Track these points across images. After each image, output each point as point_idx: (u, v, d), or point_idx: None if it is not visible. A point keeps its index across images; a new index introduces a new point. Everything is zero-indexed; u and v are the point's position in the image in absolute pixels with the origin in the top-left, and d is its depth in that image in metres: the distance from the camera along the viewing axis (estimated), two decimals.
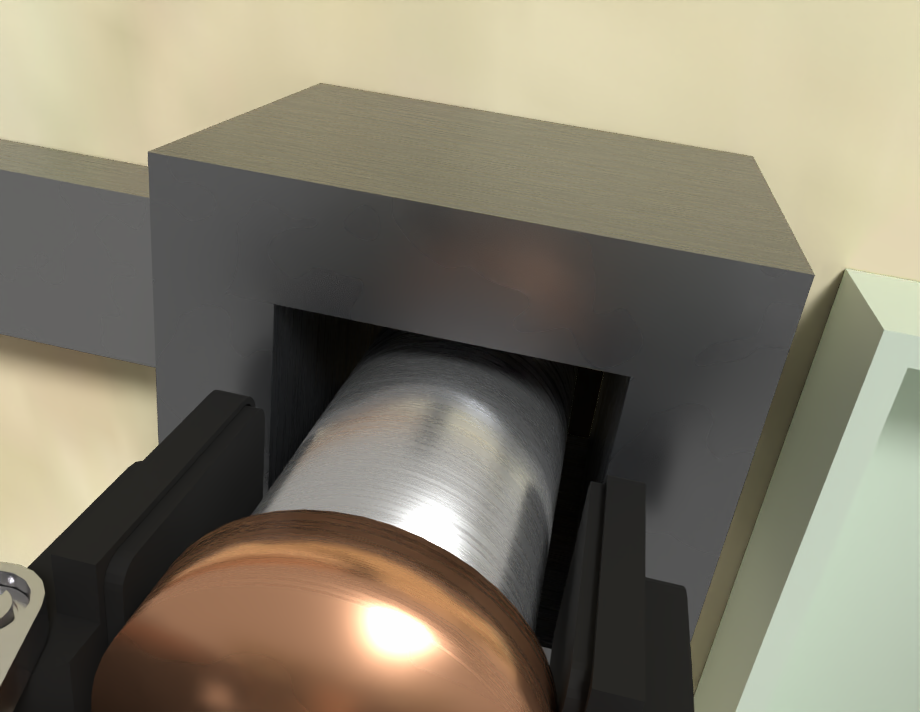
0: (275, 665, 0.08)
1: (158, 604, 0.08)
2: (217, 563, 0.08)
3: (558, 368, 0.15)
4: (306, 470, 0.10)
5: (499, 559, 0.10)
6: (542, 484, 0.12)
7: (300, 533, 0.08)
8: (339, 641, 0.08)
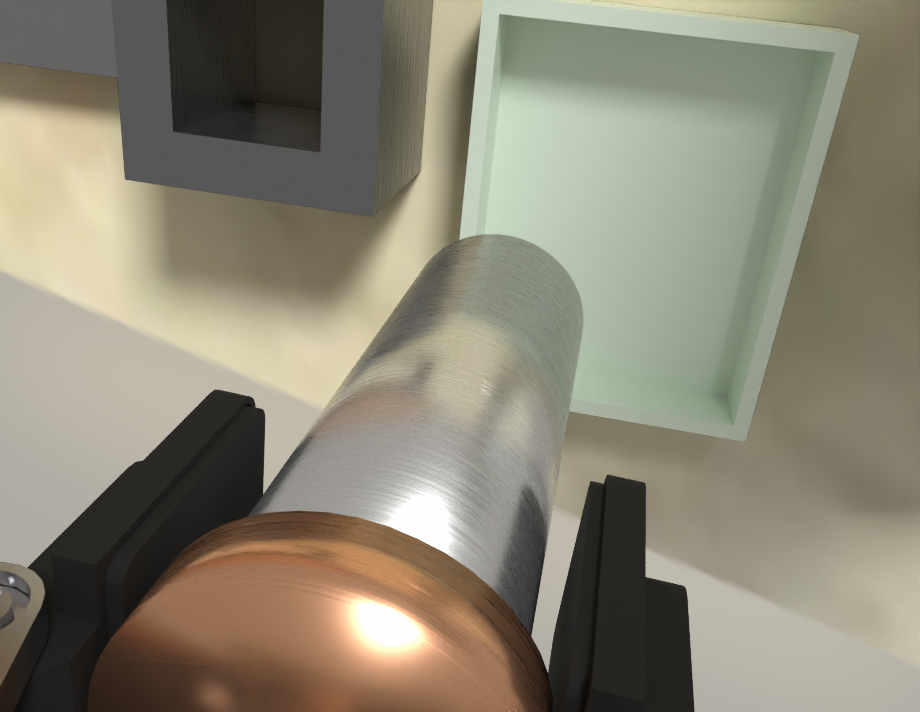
0: (271, 666, 0.08)
1: (154, 605, 0.08)
2: (213, 564, 0.08)
3: (556, 369, 0.15)
4: (304, 471, 0.10)
5: (495, 559, 0.10)
6: (539, 485, 0.12)
7: (297, 535, 0.08)
8: (335, 642, 0.08)
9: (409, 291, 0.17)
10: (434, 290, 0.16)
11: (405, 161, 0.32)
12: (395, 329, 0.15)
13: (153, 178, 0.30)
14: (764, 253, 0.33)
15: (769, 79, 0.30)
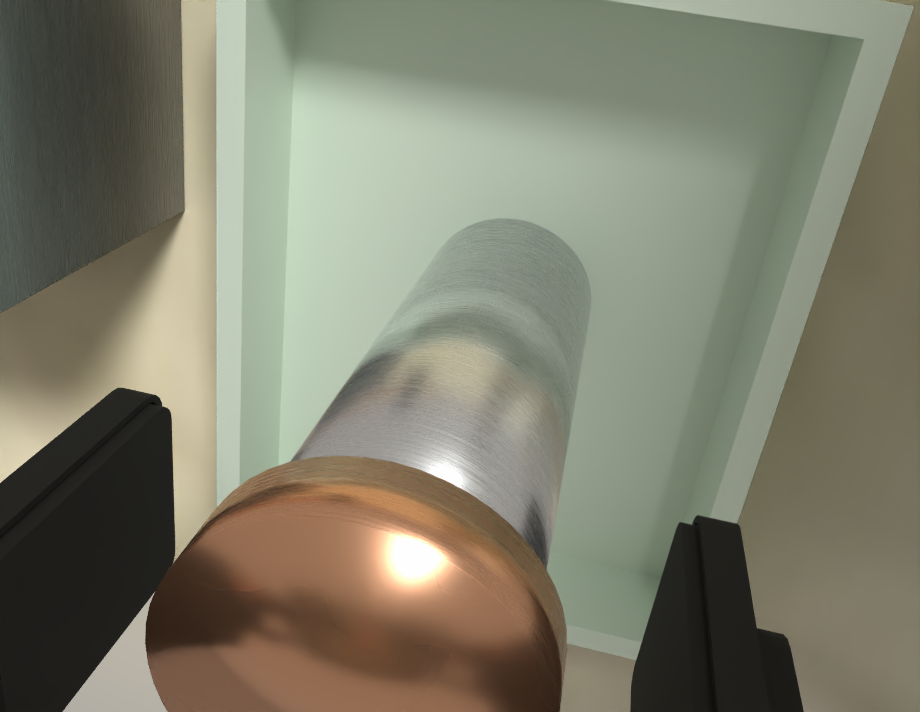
0: (314, 591, 0.09)
1: (210, 536, 0.09)
2: (262, 501, 0.09)
3: (566, 343, 0.16)
4: (336, 427, 0.11)
5: (514, 506, 0.11)
6: (551, 445, 0.13)
7: (336, 474, 0.09)
8: (373, 567, 0.09)
9: (426, 271, 0.18)
10: (451, 269, 0.17)
11: (123, 201, 0.19)
12: (415, 304, 0.15)
13: None
14: (727, 371, 0.20)
15: (743, 83, 0.17)
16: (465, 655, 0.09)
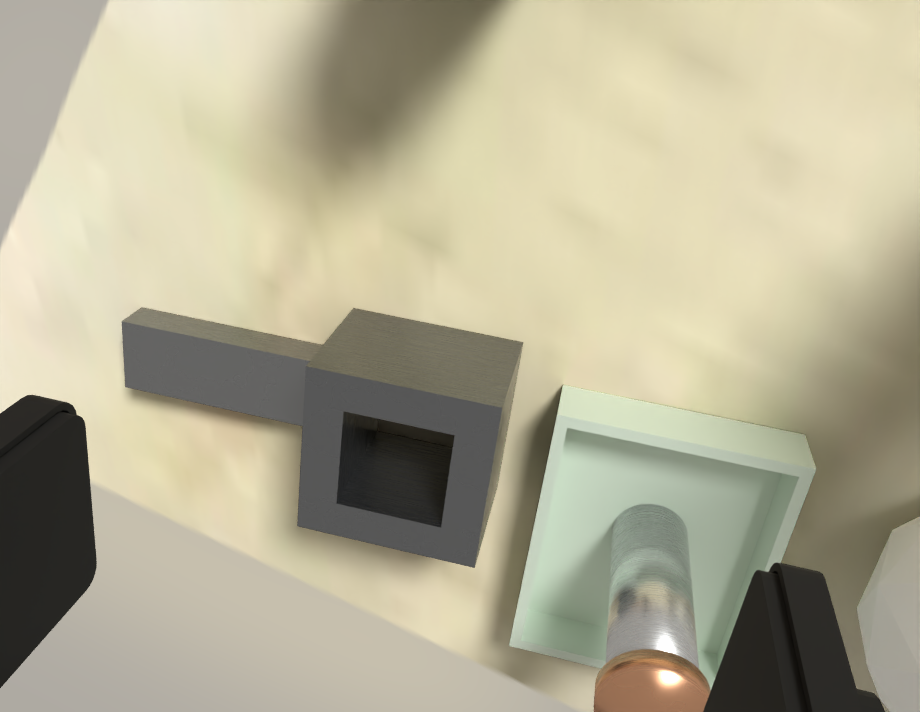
0: (650, 688, 0.34)
1: (623, 674, 0.34)
2: (634, 664, 0.35)
3: (688, 576, 0.41)
4: (633, 631, 0.37)
5: (692, 657, 0.36)
6: (694, 628, 0.38)
7: (652, 656, 0.35)
8: (667, 682, 0.34)
9: (624, 536, 0.43)
10: (640, 543, 0.42)
11: (491, 501, 0.44)
12: (633, 565, 0.41)
13: (318, 528, 0.42)
14: (747, 568, 0.46)
15: None
16: (689, 704, 0.34)
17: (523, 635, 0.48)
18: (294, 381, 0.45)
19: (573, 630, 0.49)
